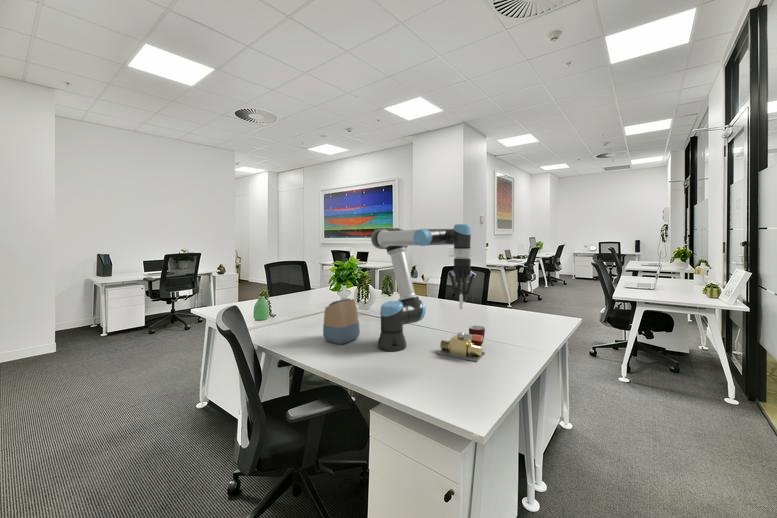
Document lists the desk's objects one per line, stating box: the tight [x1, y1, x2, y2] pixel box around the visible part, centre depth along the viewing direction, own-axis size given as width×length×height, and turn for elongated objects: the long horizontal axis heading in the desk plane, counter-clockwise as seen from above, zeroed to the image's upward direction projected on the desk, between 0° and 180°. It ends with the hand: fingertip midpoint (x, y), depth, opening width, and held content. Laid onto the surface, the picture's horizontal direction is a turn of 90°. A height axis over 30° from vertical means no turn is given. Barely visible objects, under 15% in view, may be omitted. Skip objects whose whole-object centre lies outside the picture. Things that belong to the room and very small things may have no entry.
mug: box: [468, 325, 486, 347], centre depth 177 cm, size 10×8×10 cm
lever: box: [457, 332, 484, 342], centre depth 164 cm, size 12×3×3 cm, turn 57°
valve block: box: [436, 334, 486, 363], centre depth 167 cm, size 20×12×8 cm, turn 57°
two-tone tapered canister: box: [322, 298, 361, 345], centre depth 191 cm, size 17×17×23 cm
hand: (462, 308), depth 158 cm, fingers closed
